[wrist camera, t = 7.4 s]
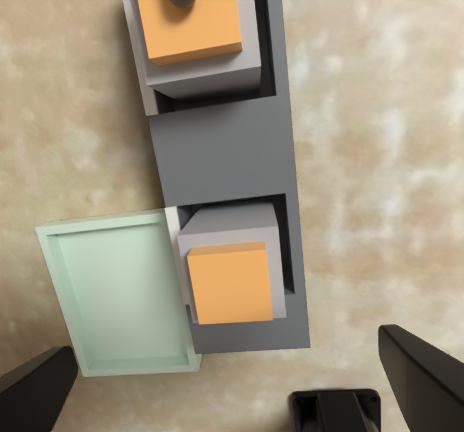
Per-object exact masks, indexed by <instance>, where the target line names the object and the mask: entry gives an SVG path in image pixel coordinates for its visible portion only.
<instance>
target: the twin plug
mask: <svg viewBox="0 0 464 432" xmlns="http://www.w3.org/2000/svg"><path fill="white" fill-rule="evenodd" d="M130 2H131V7H132V12H133V17H134V22H135V27H136V33H137V38H138V43H139V48H140V53H141V58H142V63H143V68H144V73H145V79H146V84H147V86H149V87H151V88H153V89H155V90H157V91H159V92H161V93H163V94H165V95H167V96H169V97H171V98H173V99H175V100H177V101H179V102H181V103H183V104H190V103H196V102H203V101H209V100H215V99H221V98H227V97H233V96H240V95H246V94H252V93H258V92H260V76H261V60H260V50H259V41H258V31H257V21H256V11H255V2H254V0H130Z"/></svg>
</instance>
